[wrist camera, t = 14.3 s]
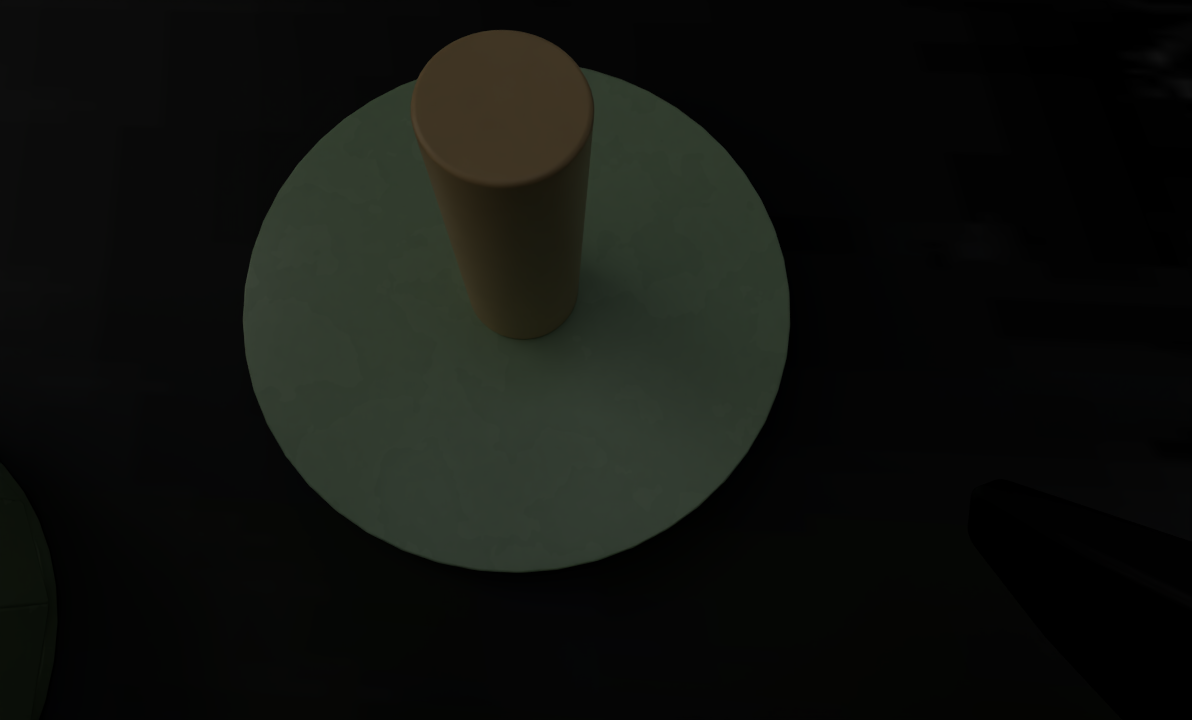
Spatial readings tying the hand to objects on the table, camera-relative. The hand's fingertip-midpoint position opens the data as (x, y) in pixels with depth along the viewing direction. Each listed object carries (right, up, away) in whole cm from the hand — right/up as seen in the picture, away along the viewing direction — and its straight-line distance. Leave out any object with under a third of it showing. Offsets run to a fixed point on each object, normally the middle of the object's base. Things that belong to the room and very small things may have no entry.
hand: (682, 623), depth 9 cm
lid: (-3, +5, +8) cm, 10 cm away
